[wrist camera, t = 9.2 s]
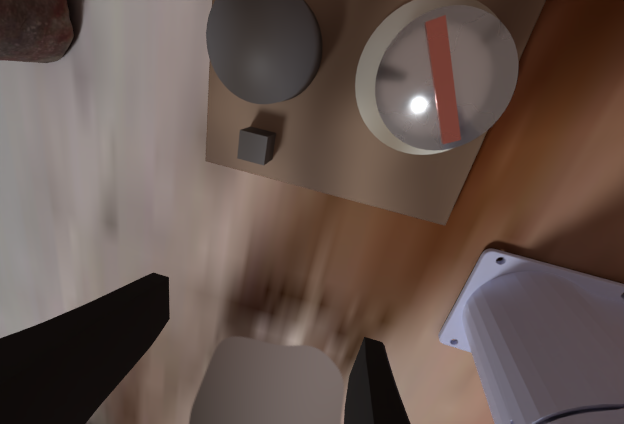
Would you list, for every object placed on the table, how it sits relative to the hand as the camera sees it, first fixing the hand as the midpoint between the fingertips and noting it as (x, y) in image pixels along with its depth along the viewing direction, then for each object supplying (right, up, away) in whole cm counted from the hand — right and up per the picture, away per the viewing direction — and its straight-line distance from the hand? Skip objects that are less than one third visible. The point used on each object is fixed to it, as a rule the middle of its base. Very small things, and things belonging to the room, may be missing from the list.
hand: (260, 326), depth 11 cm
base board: (+4, +12, +5) cm, 14 cm away
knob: (+7, +10, +4) cm, 13 cm away
